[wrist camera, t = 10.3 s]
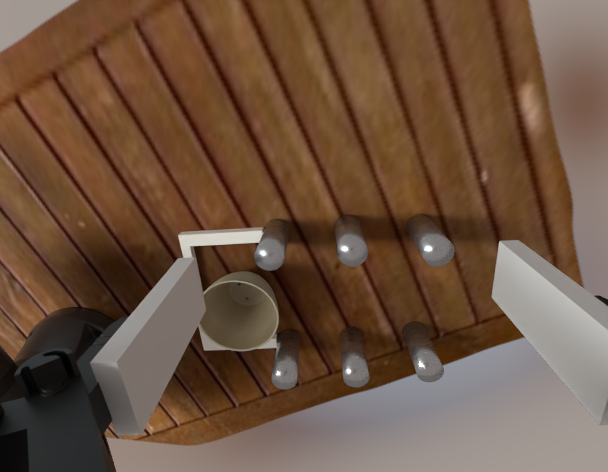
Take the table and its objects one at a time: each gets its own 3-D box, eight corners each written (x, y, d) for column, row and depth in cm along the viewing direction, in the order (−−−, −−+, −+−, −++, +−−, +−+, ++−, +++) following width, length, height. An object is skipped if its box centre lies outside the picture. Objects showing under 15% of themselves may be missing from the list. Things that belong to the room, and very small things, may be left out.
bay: (206, 345, 53) (204, 350, 52) (181, 231, 46) (178, 235, 45) (278, 342, 52) (277, 347, 51) (263, 227, 46) (262, 230, 45)
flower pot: (298, 295, 49) (295, 327, 43) (243, 329, 52) (232, 363, 45) (253, 241, 47) (243, 265, 40) (197, 279, 49) (178, 308, 42)
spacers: (279, 347, 53) (272, 389, 45) (263, 219, 45) (252, 244, 38) (424, 342, 51) (442, 384, 44) (432, 209, 44) (456, 233, 37)
